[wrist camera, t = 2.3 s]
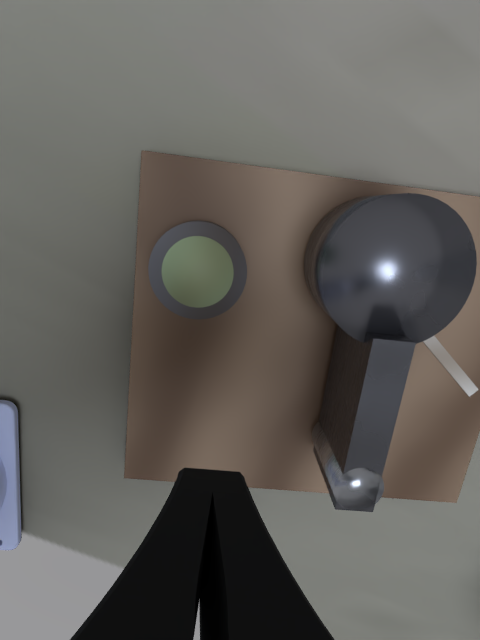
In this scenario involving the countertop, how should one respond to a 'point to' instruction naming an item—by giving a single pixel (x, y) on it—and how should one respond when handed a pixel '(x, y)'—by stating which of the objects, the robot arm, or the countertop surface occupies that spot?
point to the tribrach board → (271, 335)
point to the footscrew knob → (379, 323)
